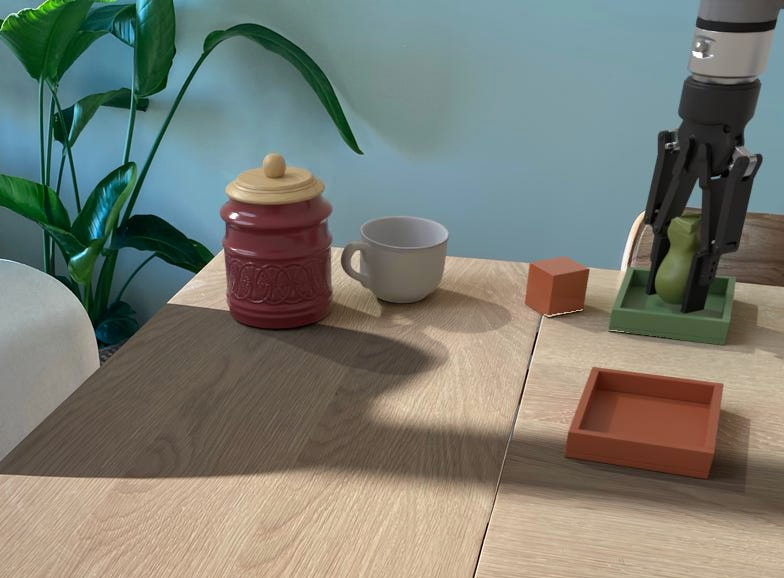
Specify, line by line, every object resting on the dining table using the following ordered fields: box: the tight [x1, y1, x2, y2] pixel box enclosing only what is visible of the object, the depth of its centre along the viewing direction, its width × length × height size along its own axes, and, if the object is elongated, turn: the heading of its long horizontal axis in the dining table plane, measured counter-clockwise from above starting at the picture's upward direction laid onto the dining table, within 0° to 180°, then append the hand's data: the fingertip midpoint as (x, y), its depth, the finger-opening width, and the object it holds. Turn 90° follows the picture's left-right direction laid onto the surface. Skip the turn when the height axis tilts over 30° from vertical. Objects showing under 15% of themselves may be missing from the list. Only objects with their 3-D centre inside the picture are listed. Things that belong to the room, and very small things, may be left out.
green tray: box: [608, 266, 737, 346], centre depth 114 cm, size 15×13×3 cm
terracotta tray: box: [563, 366, 724, 480], centre depth 93 cm, size 15×13×3 cm
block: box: [524, 255, 591, 316], centre depth 116 cm, size 5×5×5 cm
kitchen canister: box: [219, 152, 334, 330], centre depth 113 cm, size 13×13×18 cm
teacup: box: [340, 215, 450, 304], centre depth 119 cm, size 14×11×8 cm
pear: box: [655, 211, 701, 305], centre depth 111 cm, size 6×5×10 cm
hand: (674, 301), depth 114 cm, fingers closed on pear, 6 cm apart
